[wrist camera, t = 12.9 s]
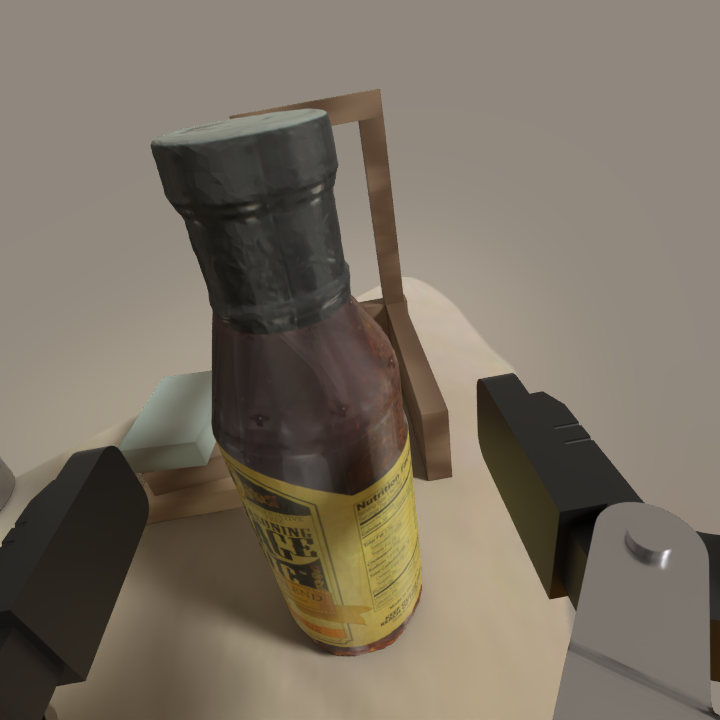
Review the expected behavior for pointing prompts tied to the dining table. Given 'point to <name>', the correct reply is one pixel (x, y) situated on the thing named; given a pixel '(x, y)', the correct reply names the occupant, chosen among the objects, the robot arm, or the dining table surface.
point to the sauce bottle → (300, 375)
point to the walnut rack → (391, 278)
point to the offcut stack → (180, 451)
